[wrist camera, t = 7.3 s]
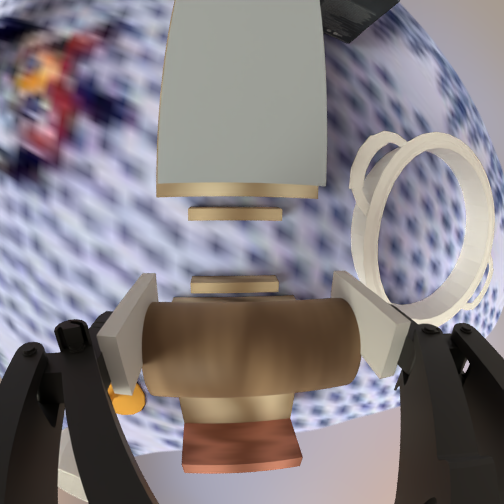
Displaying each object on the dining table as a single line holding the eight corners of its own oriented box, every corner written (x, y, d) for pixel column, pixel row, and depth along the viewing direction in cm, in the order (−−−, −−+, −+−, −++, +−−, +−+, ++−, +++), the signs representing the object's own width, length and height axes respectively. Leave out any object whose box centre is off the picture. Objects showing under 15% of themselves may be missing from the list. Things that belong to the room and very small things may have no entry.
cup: (83, 354, 26) (28, 450, 11) (150, 381, 28) (125, 493, 13) (82, 398, 28) (46, 483, 13) (141, 421, 30) (122, 515, 15)
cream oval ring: (492, 222, 30) (514, 227, 25) (426, 343, 33) (444, 359, 28) (380, 80, 23) (405, 68, 18) (276, 248, 26) (288, 262, 22)
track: (188, 407, 30) (184, 472, 20) (183, 11, 18) (171, -51, 8) (281, 404, 31) (299, 465, 21) (298, 17, 20) (332, -39, 10)
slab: (169, 183, 19) (157, 183, 15) (185, 5, 15) (180, -22, 11) (305, 185, 20) (325, 186, 16) (303, 12, 16) (317, -12, 12)
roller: (164, 313, 16) (165, 392, 14) (143, 289, 12) (141, 400, 10) (320, 309, 17) (327, 384, 15) (353, 285, 13) (365, 385, 11)
